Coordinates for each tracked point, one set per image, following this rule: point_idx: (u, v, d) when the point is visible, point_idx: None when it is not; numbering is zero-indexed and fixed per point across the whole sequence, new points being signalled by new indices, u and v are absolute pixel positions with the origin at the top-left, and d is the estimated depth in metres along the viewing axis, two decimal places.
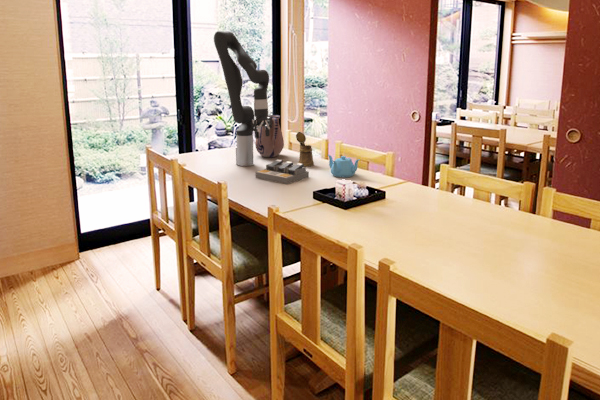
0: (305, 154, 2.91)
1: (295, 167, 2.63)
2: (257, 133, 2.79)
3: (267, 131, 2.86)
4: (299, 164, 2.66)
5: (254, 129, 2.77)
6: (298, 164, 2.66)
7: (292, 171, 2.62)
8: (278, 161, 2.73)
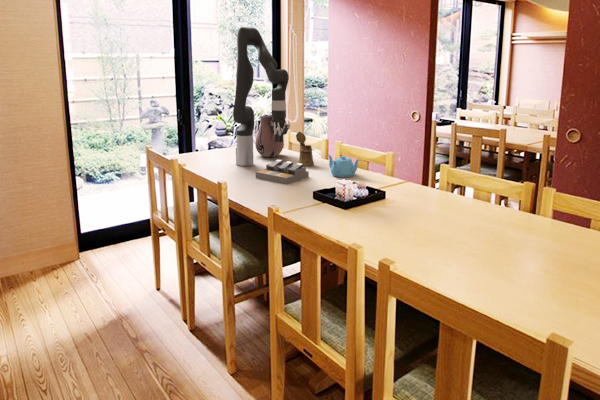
0: (305, 154, 2.91)
1: (295, 167, 2.63)
2: None
3: (277, 136, 2.72)
4: (299, 164, 2.66)
5: (286, 133, 2.68)
6: (298, 164, 2.66)
7: (292, 171, 2.62)
8: (278, 161, 2.73)
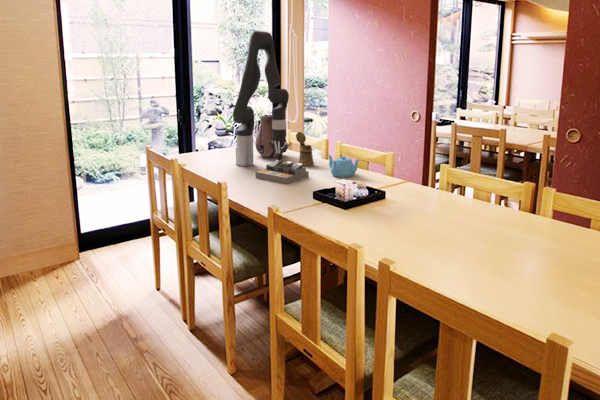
0: (305, 154, 2.91)
1: (295, 167, 2.63)
2: None
3: None
4: (299, 164, 2.66)
5: (285, 151, 2.72)
6: (298, 164, 2.66)
7: (292, 171, 2.62)
8: (278, 161, 2.73)
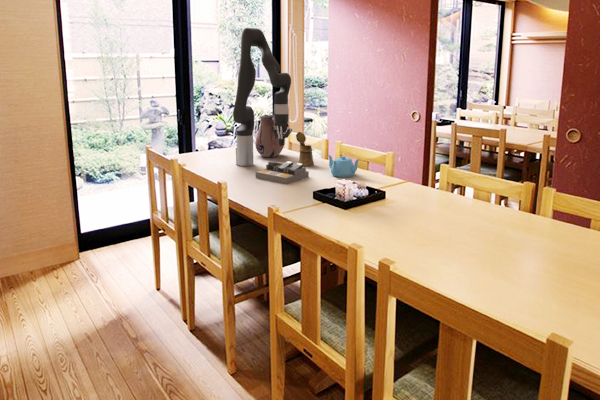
0: (305, 154, 2.91)
1: (295, 167, 2.63)
2: None
3: None
4: (299, 164, 2.66)
5: (287, 137, 2.68)
6: (298, 164, 2.66)
7: (292, 171, 2.62)
8: (279, 163, 2.74)
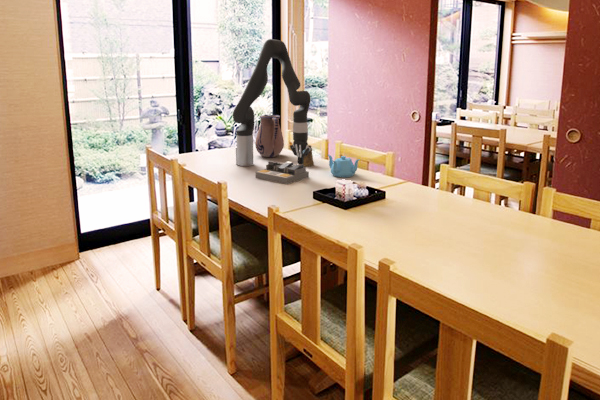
0: None
1: (295, 167, 2.63)
2: None
3: None
4: (299, 164, 2.66)
5: (306, 155, 2.64)
6: (298, 164, 2.66)
7: (292, 171, 2.61)
8: (279, 163, 2.74)
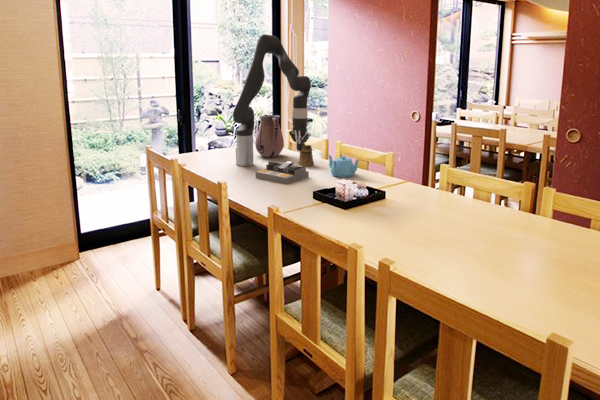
0: (305, 154, 2.91)
1: (295, 166, 2.63)
2: None
3: None
4: (299, 166, 2.66)
5: (305, 141, 2.62)
6: (298, 166, 2.66)
7: (292, 168, 2.61)
8: (279, 163, 2.74)
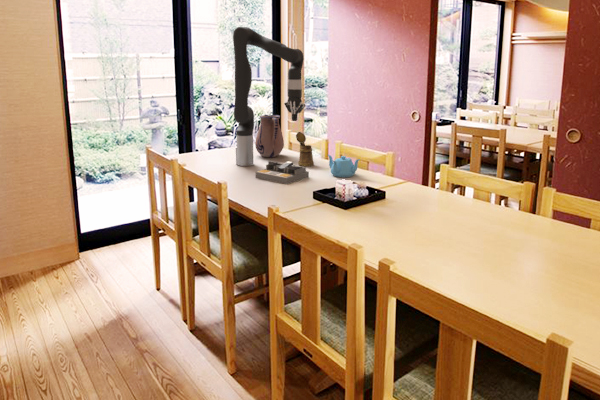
0: (305, 154, 2.91)
1: (295, 166, 2.63)
2: None
3: None
4: None
5: (300, 112, 2.75)
6: (299, 166, 2.67)
7: (292, 167, 2.61)
8: (279, 163, 2.74)
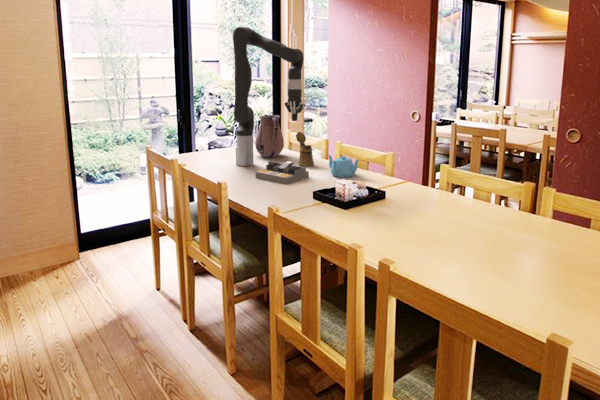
0: (305, 154, 2.91)
1: (295, 166, 2.64)
2: None
3: None
4: None
5: (300, 112, 2.75)
6: (299, 166, 2.67)
7: (292, 167, 2.61)
8: (279, 163, 2.74)
